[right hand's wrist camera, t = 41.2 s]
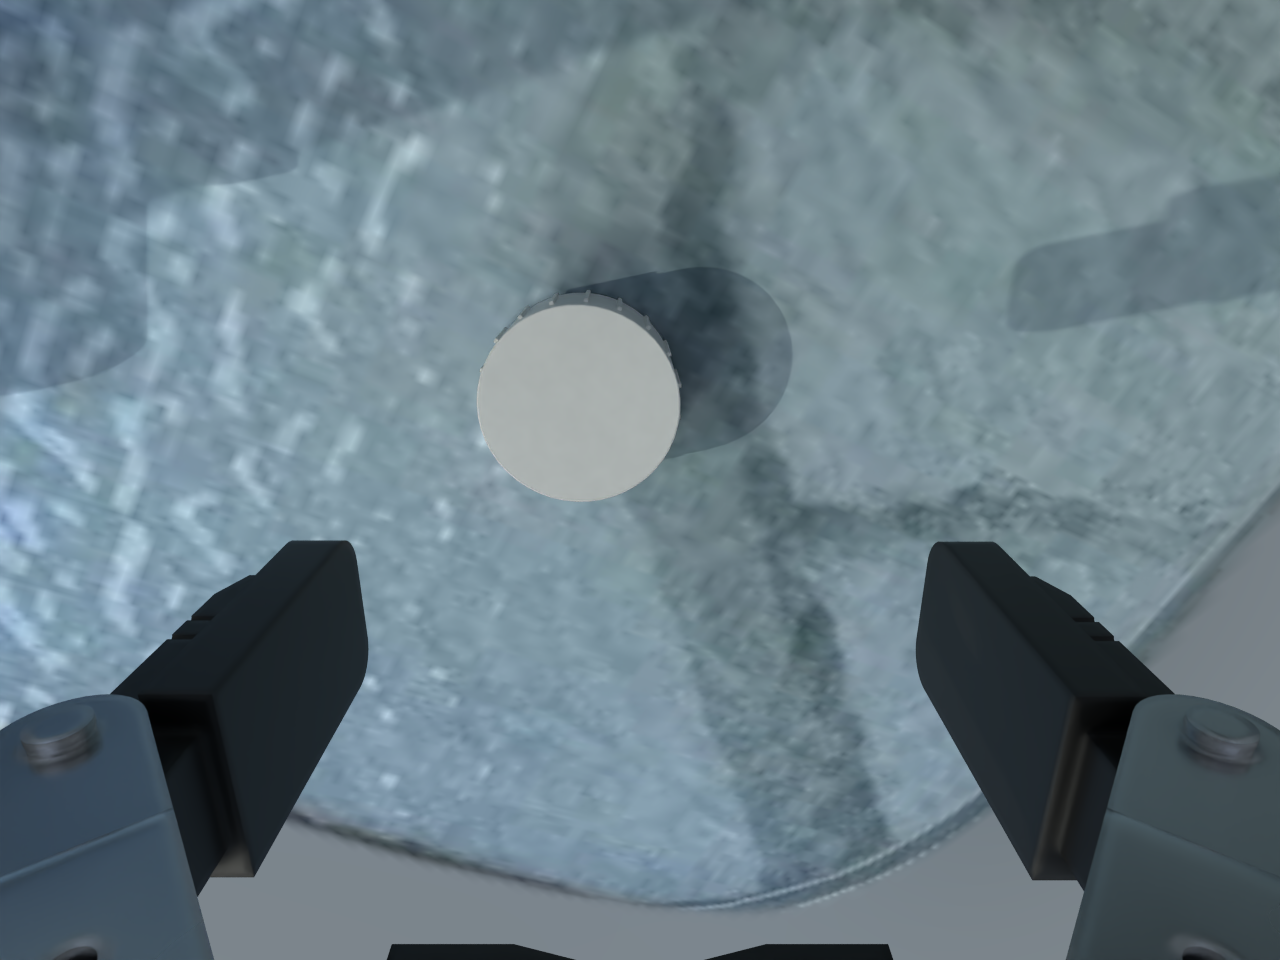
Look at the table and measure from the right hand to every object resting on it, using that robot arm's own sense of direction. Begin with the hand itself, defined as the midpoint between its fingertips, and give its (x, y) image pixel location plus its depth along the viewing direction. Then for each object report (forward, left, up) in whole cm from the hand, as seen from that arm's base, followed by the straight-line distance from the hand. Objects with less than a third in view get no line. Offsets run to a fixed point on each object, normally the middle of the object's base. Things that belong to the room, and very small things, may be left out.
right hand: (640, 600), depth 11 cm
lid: (+1, 0, -9) cm, 9 cm away
